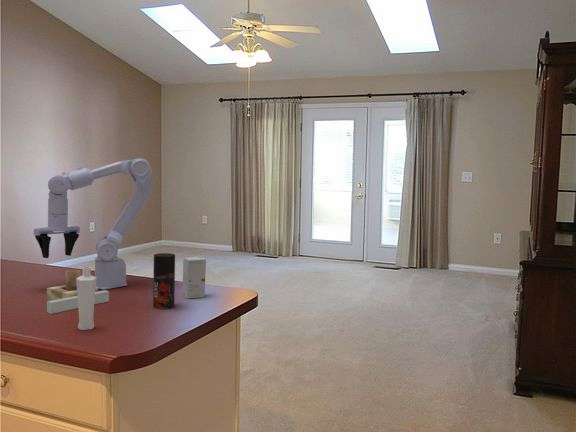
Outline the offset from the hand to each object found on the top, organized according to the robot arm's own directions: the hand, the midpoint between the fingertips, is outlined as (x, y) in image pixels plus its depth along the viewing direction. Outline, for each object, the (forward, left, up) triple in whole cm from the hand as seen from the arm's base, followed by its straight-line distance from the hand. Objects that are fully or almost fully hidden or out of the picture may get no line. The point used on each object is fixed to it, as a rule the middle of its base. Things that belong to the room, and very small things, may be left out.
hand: (57, 256), depth 164 cm
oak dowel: (+6, +17, -9) cm, 21 cm away
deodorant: (-8, +40, -11) cm, 42 cm away
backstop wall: (+8, +24, -10) cm, 27 cm away
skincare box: (-22, +38, -11) cm, 46 cm away
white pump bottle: (+18, +41, -11) cm, 46 cm away
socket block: (+6, +17, -10) cm, 21 cm away
